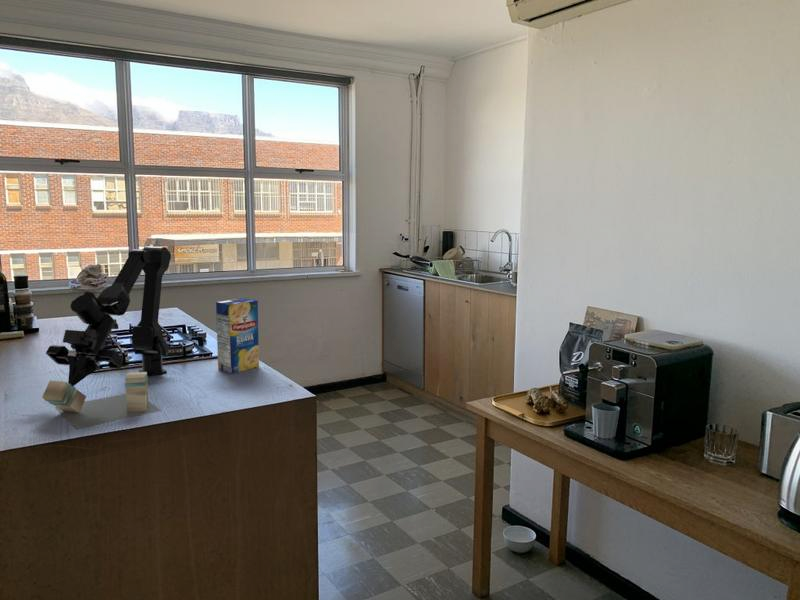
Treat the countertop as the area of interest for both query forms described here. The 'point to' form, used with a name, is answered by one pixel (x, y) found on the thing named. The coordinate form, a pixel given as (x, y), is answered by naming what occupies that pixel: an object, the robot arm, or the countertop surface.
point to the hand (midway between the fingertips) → (70, 385)
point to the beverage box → (237, 335)
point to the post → (136, 391)
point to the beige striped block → (64, 396)
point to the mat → (103, 411)
